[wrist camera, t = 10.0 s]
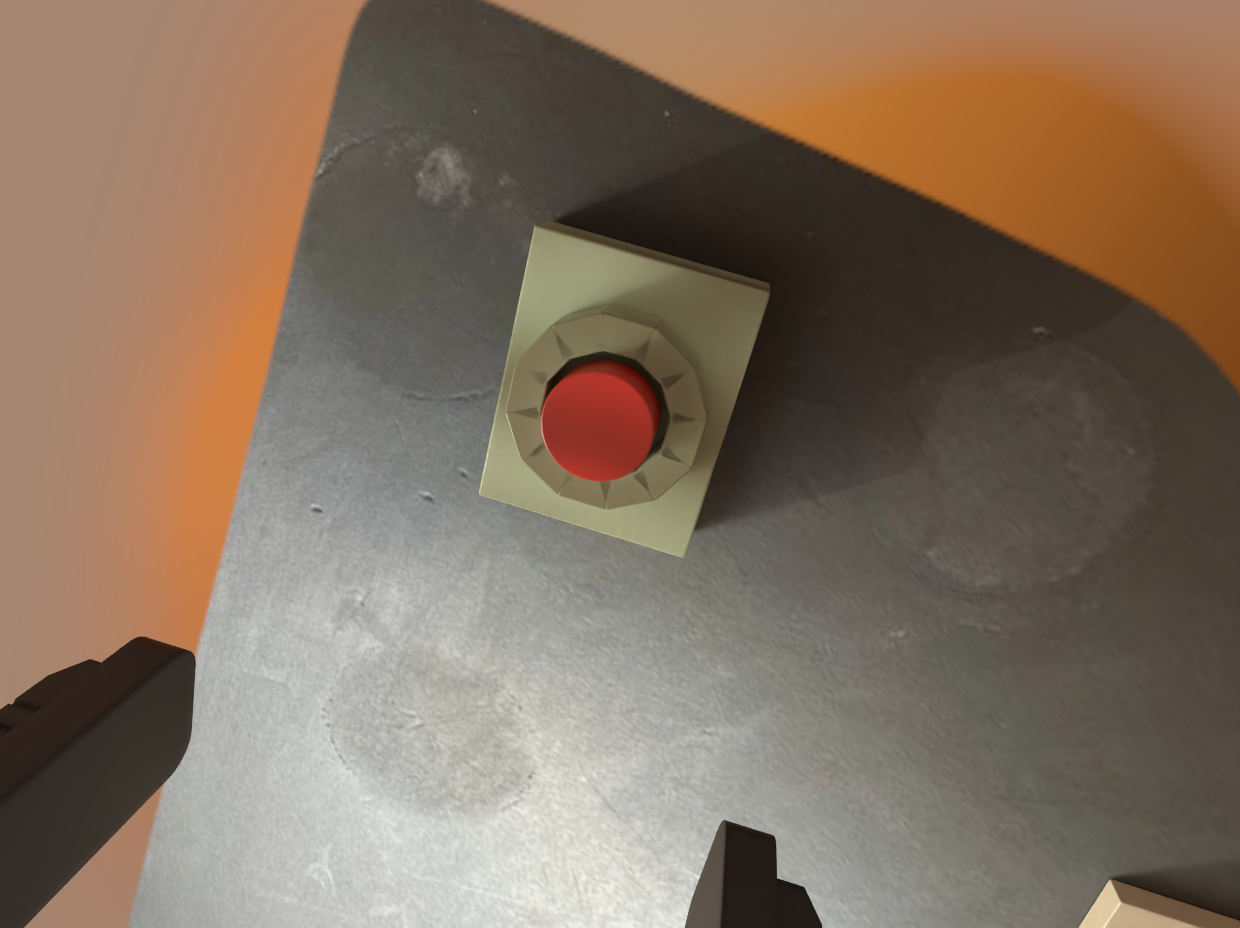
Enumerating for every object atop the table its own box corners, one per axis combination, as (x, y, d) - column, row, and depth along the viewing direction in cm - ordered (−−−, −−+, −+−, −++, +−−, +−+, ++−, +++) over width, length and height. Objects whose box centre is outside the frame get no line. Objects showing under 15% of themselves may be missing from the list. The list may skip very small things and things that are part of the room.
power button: (566, 345, 27) (553, 356, 25) (673, 376, 27) (667, 390, 25) (542, 446, 28) (529, 463, 27) (644, 477, 28) (637, 496, 26)
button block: (550, 220, 29) (519, 228, 25) (770, 283, 29) (771, 301, 25) (495, 474, 33) (460, 514, 29) (689, 534, 32) (680, 582, 29)
